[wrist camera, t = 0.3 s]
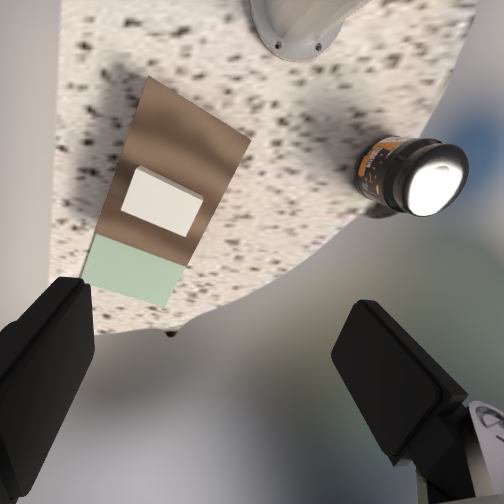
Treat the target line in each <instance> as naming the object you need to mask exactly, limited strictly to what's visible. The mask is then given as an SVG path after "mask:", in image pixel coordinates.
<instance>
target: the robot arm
mask: <svg viewBox="0 0 504 504" xmlns="http://www.w3.org/2000/svg"><path fill="white" fill-rule="evenodd" d="M370 1H371V0H250V7H251V13H252V18H253V21H254V24H255V27H256V30H257V32H258V34H259V36H260V38H261V40H262V41H263V43H264V44H265V45H266V47H267V48H268V49H269V50H270V51H271V52H272V53H274V54H275V55H276V56H278V57H280V58H281V59H283V60H287V61H290V62H303V61H308V60H310V59H312V58H314V57H316V56H318V55H320V54H321V53H323V52H324V51H325V50H326V49H327V48H328V47H329V46H330V45H331V44H332V43H333V41H334V40H335V39H336V37H337V36H338V34H339V32H340V30H341V28H342V26H343V24H344V21H345V19H347V18H348V17H350V16H351V15H352V14H354V13H355V12H356V11H358V10H359V9H360V8H362V7H363V6H365V5H366V4H367V3H369V2H370ZM275 45H278V49H276V48H275ZM316 47H317V48H318V50H316ZM94 350H95V345H94V330H93V315H92V300H91V287H90V284H88V283H84V280H83V279H82V278H73V277H58V278H57V279H56V280H55V281H54V282H53V283H52V284H51V285H50V286H49V287H48V288H47V289H46V290H45V291H44V293H42V294H41V296H40V297H39V298H38V299H37V300H36V301H35V302H34V303H33V304H32V305H31V306H30V307H29V308H28V309H27V310H26V311H25V312H24V313H23V314H22V315H21V317H20V318H19V319H18V320H17V321H14V322H11V323H9V324H8V325H7V326H6V327H4V328H3V329H2V330H1V332H0V504H16V502H17V500H18V498H19V497H24V496H26V495H27V494H28V493H29V491H30V490H31V488H32V486H33V484H34V482H35V480H36V478H37V476H38V473H39V472H40V469H41V467H42V465H43V463H44V461H45V458H46V457H47V455H48V452H49V450H50V448H51V446H52V444H53V442H54V440H55V438H56V435H57V433H58V431H59V429H60V427H61V425H62V423H63V420H64V419H65V416H66V414H67V412H68V410H69V408H70V406H71V404H72V401H73V399H74V397H75V395H76V393H77V391H78V389H79V387H80V384H81V382H82V380H83V378H84V376H85V374H86V371H87V370H88V367H89V365H90V363H91V361H92V359H93V355H94ZM331 358H332V361H333V363H334V365H335V367H336V369H337V370H338V372H339V374H340V376H341V378H342V379H343V381H344V383H345V385H346V386H347V388H348V390H349V392H350V394H351V395H352V397H353V399H354V401H355V403H356V405H357V406H358V408H359V410H360V412H361V414H362V416H363V417H364V419H365V421H366V423H367V425H368V426H369V428H370V430H371V432H372V434H373V435H374V437H375V439H376V441H377V443H378V445H379V446H380V448H381V450H382V451H383V452H384V453H385V454H386V455H387V456H388V457H389V459H390V461H391V463H392V465H393V466H394V467H398V466H406V465H408V464H409V463H410V462H411V461H413V463H414V464H415V466H416V485H417V501H418V504H504V413H503V412H502V411H500V410H498V409H496V408H495V407H493V406H491V405H488V404H486V403H484V402H479V401H473V402H471V403H470V404H469V405H468V406H467V408H465V407H464V406H463V404H462V402H463V401H464V400H465V399H466V398H467V396H468V394H467V393H466V392H465V391H464V390H463V389H462V388H461V387H460V385H458V384H457V383H456V381H455V380H453V378H452V377H450V375H449V374H448V373H446V372H445V370H444V369H443V368H442V367H441V366H440V365H439V364H438V363H437V362H436V361H435V360H434V359H433V358H432V357H431V356H430V355H429V354H428V353H427V352H426V351H425V350H424V349H423V348H422V347H421V346H420V345H419V344H418V343H417V342H416V341H415V340H414V339H413V338H412V337H411V336H410V335H409V334H408V333H407V332H406V331H405V330H404V329H403V328H402V327H401V326H400V325H399V324H398V323H397V322H396V321H395V320H394V319H393V318H392V317H391V316H390V315H389V314H388V313H387V312H386V311H385V310H384V309H383V308H382V307H381V306H380V305H379V304H378V303H377V302H376V301H373V300H359V301H358V302H357V303H355V304H354V305H353V307H352V309H351V311H350V314H349V316H348V318H347V320H346V322H345V324H344V326H343V328H342V330H341V333H340V335H339V337H338V339H337V341H336V343H335V345H334V347H333V350H332V352H331Z"/></svg>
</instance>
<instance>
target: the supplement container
mask: <svg viewBox="0 0 504 504" xmlns="http://www.w3.org/2000/svg"><path fill="white" fill-rule="evenodd" d="M468 173H469V161H468V157H467V155H466V153H465V152H464V150H463V149H462V148H460V147H459V146H457V145H453V144H444V143H442V142H441V141H439V140H436V139H432V138H406V137H398V136H388V137H384V138H381V139H379V140H377V141H375V142H374V143H372V144H371V145H370V146H369V147H368V148H367V149H366V150H365V151H364V152H363V154H362V155H361V157H360V158H359V160H358V163H357V166H356V170H355V183H356V186H357V188H358V190H359V192H360V193H361V194H362V195H363V196H365V197H366V198H368V199H371V200H374V201H376V202H378V203H380V204H383V205H385V206H387V207H388V208H390V209H392V210H394V211H396V212H400V213H409V214H412V215H414V216H419V217H427V216H431V215H434V214H436V213H439V212H440V211H442V210H444V209H445V208H446V207H448V206H449V205H450V204H451V203H452V202H453V201H454V200H455V199H456V198H457V197H458V195H459V194H460V192H461V191H462V189H463V187H464V185H465V183H466V180H467V177H468Z"/></svg>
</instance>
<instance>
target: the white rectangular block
mask: <svg viewBox="0 0 504 504" xmlns="http://www.w3.org/2000/svg"><path fill="white" fill-rule="evenodd" d="M202 202H203V196H202V195H200V194H198V193H196V192H193V191H191V190H189V189H187V188H185V187H183V186H181V185H179V184H177V183H175V182H173V181H171V180H169V179H167V178H165V177H163V176H161V175H159V174H157V173H155V172H153V171H151V170H149V169H147V168H145V167H143V166H139V167H138V168H136V170H135V173H134V175H133V178H132V181H131V184H130V186H129V189H128V192H127V194H126V197H125V200H124V202H123V205H122V208H121V210H122V211H124V212H126V213H129V214H131V215H134V216H136V217H138V218H141V219H143V220H146V221H148V222H150V223H153V224H155V225H158V226H160V227H162V228H165V229H167V230H170V231H172V232H174V233H177V234H179V235H182V236H184V237H186V235H187V233H188V231H189V229H190V227H191V225H192V223H193V221H194V219H195V217H196V215H197V213H198V210H199V208H200V206H201V204H202Z"/></svg>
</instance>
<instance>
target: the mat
mask: <svg viewBox="0 0 504 504" xmlns="http://www.w3.org/2000/svg"><path fill="white" fill-rule="evenodd" d="M184 269H185V267H184V266H182V265H179V264H176V263H174V262H171V261H168V260H166V259H163V258H160V257H158V256H155V255H152V254H149V253H147V252H144V251H141V250H139V249H136V248H133V247H131V246H128V245H125V244H123V243H120V242H117V241H114V240H112V239H109V238H106V237H104V236H101V235H98V234H96V236H95V239H94V242H93V244H92V247H91V250H90V253H89V256H88V259H87V262H86V265H85V268H84V270H83V273H82V276H81V278H82V279H83V280H84V283H88V284H90V285H93V286H96V287H100V288H103V289H106V290H110V291H113V292H116V293H120V294H123V295H126V296H130V297H133V298H136V299H140V300H143V301H146V302H150V303H153V304H156V305H160V306H163V307H165V306H166V304H167V302H168V300H169V298H170V296H171V294H172V292H173V290H174V288H175V286H176V284H177V282H178V280H179V278H180V276H181V274H182V272H183V270H184Z"/></svg>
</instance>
